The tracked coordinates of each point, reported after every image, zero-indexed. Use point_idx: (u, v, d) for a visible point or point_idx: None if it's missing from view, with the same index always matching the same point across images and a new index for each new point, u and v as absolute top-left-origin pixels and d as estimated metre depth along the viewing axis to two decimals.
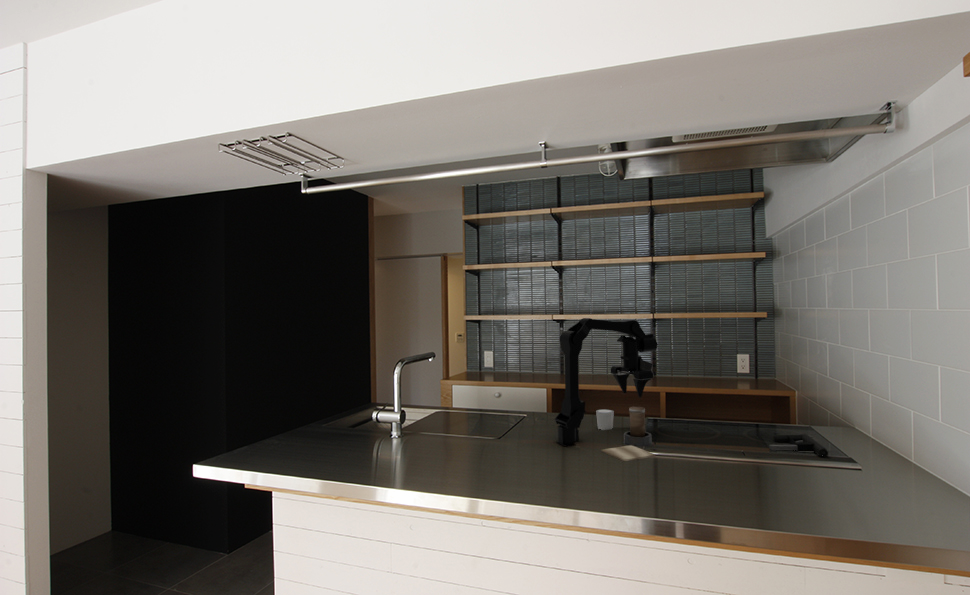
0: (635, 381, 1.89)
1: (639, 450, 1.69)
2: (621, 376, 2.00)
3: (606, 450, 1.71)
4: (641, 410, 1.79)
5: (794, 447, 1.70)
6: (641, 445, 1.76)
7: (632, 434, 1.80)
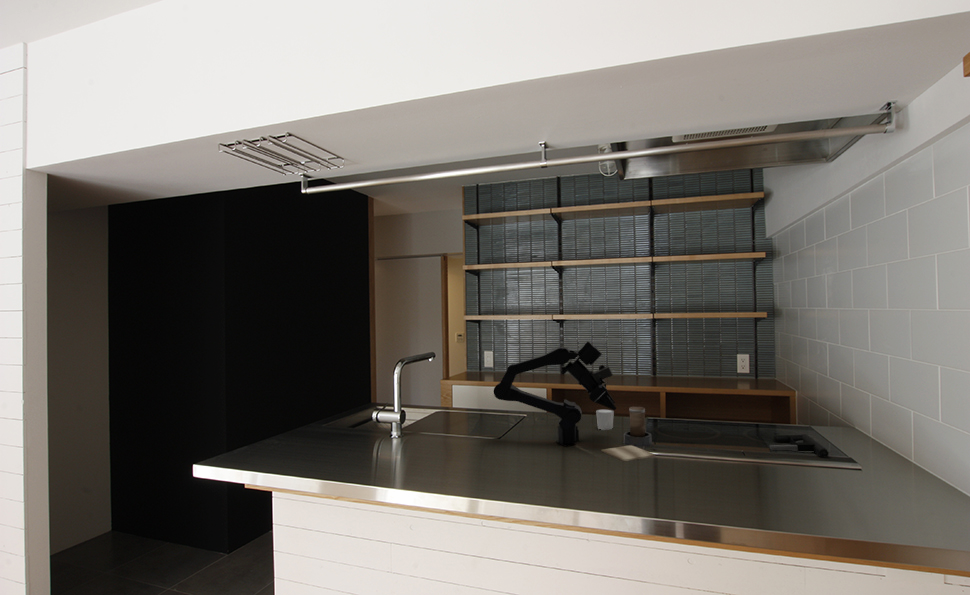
0: (596, 402, 1.78)
1: (639, 450, 1.69)
2: None
3: (606, 450, 1.71)
4: (641, 410, 1.79)
5: (794, 447, 1.70)
6: (641, 445, 1.76)
7: (632, 434, 1.80)
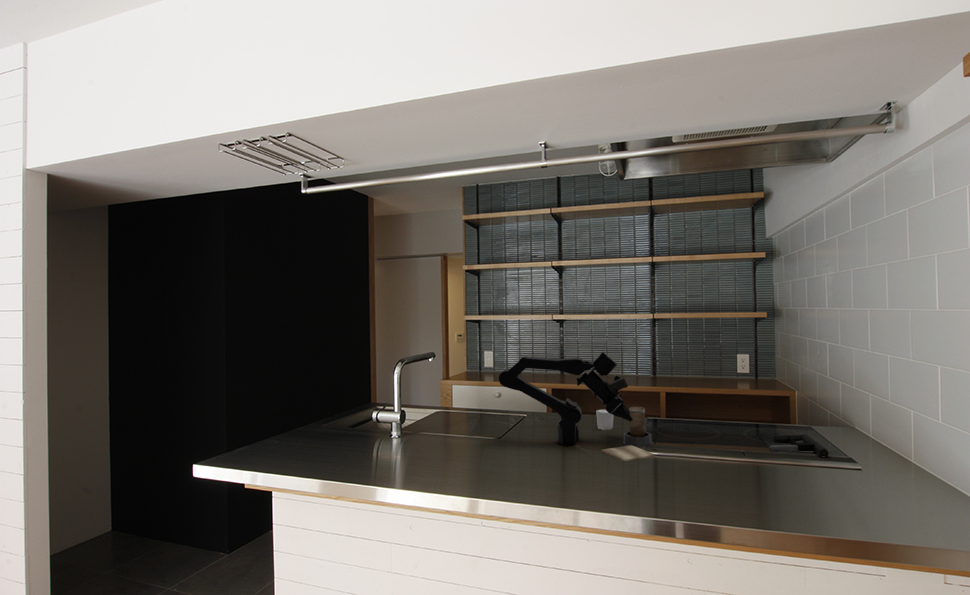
0: None
1: (639, 450, 1.69)
2: None
3: (606, 450, 1.71)
4: (641, 410, 1.79)
5: (794, 447, 1.70)
6: (641, 445, 1.76)
7: (632, 434, 1.80)
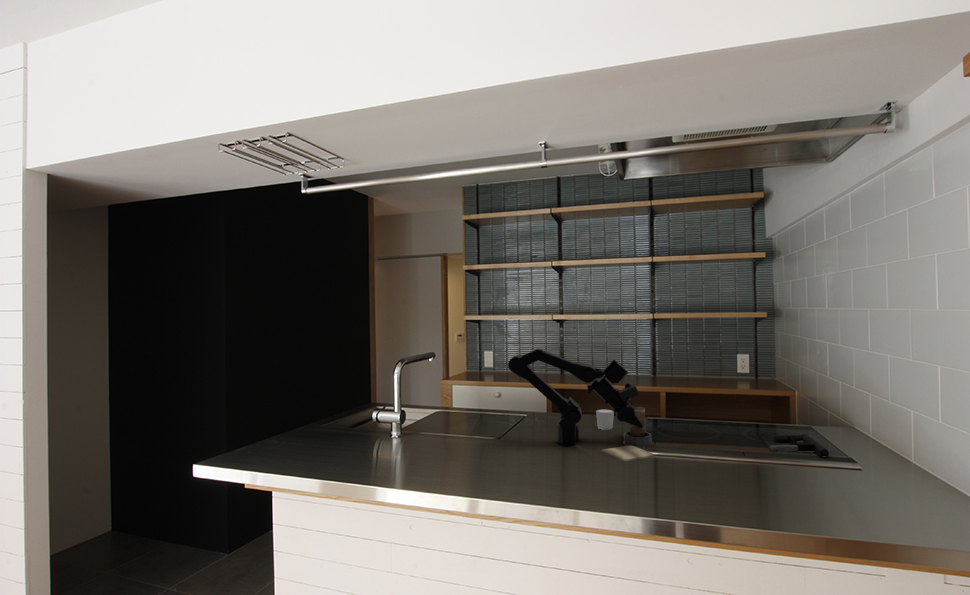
0: None
1: (639, 450, 1.69)
2: None
3: (606, 450, 1.71)
4: (641, 410, 1.79)
5: (795, 447, 1.70)
6: (641, 445, 1.76)
7: (632, 434, 1.80)
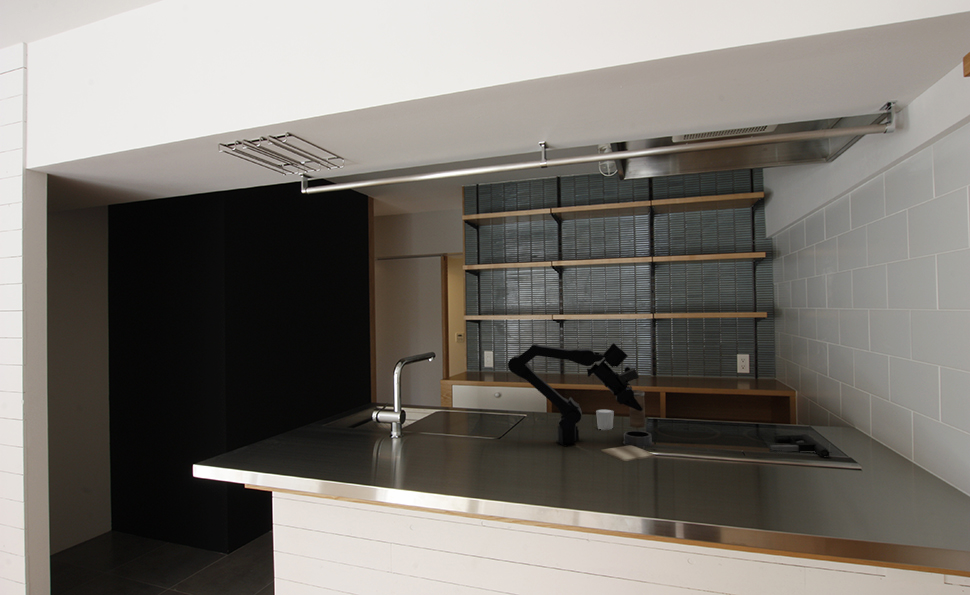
0: None
1: (639, 450, 1.69)
2: None
3: (606, 450, 1.71)
4: (641, 393, 1.79)
5: (795, 447, 1.70)
6: (641, 445, 1.76)
7: (632, 417, 1.80)
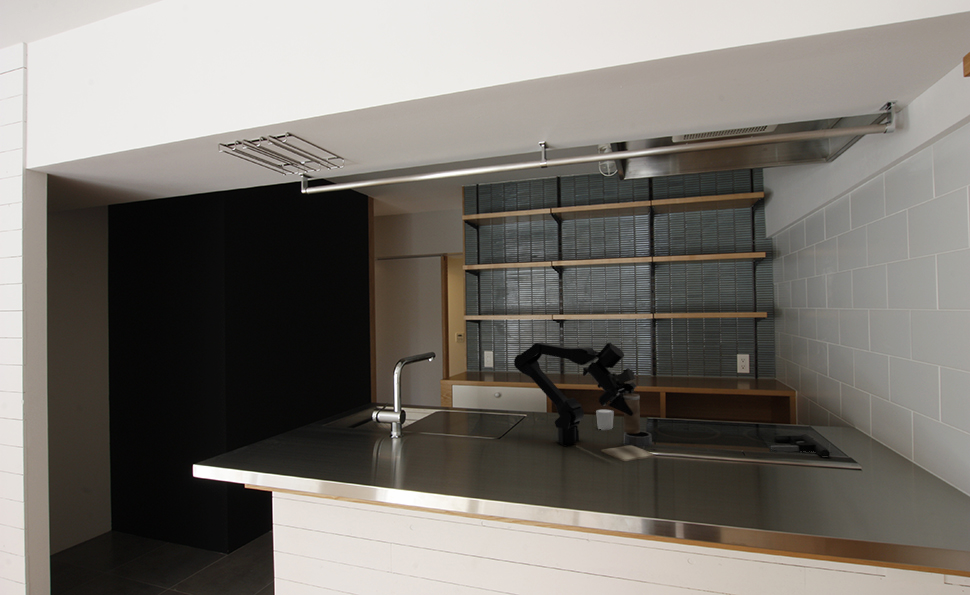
0: None
1: (639, 450, 1.69)
2: None
3: (606, 450, 1.71)
4: (632, 397, 1.68)
5: (795, 448, 1.70)
6: (641, 445, 1.76)
7: (624, 421, 1.71)
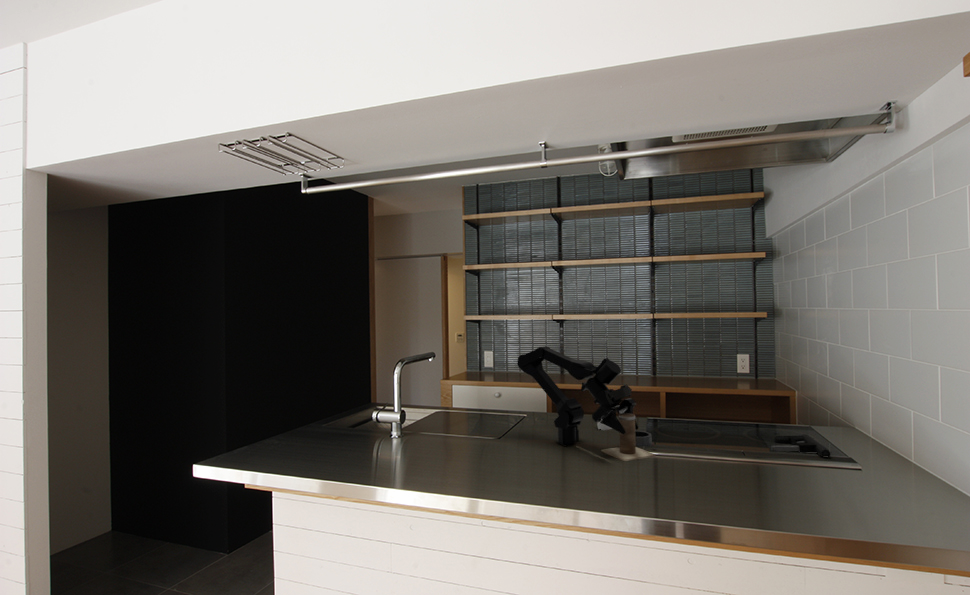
0: None
1: (639, 450, 1.69)
2: None
3: (606, 450, 1.71)
4: (626, 417, 1.66)
5: (796, 448, 1.69)
6: (641, 445, 1.76)
7: (619, 442, 1.69)
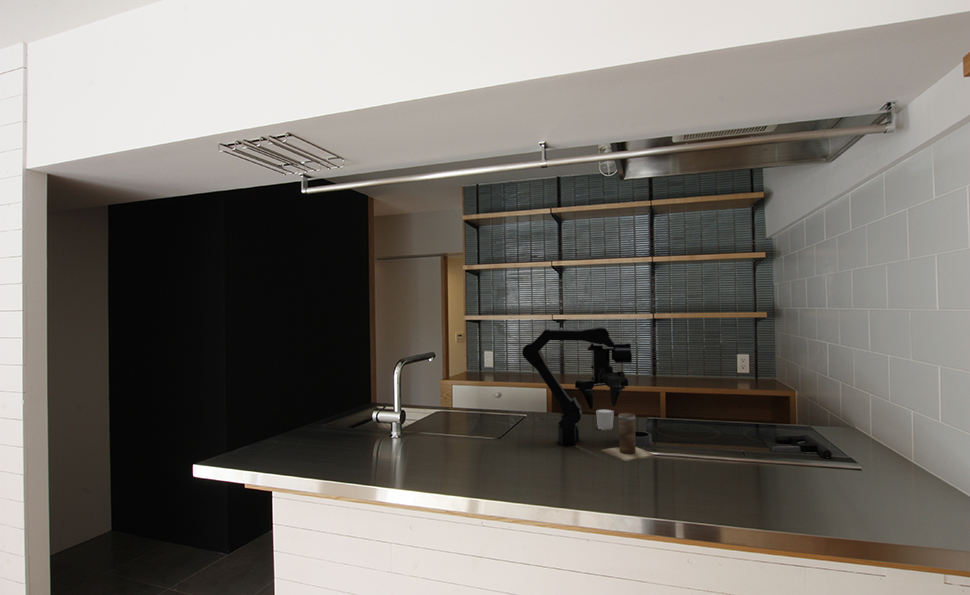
0: None
1: (639, 450, 1.69)
2: (612, 387, 1.86)
3: (606, 450, 1.71)
4: (626, 417, 1.66)
5: (797, 448, 1.69)
6: (641, 445, 1.76)
7: (619, 442, 1.69)
